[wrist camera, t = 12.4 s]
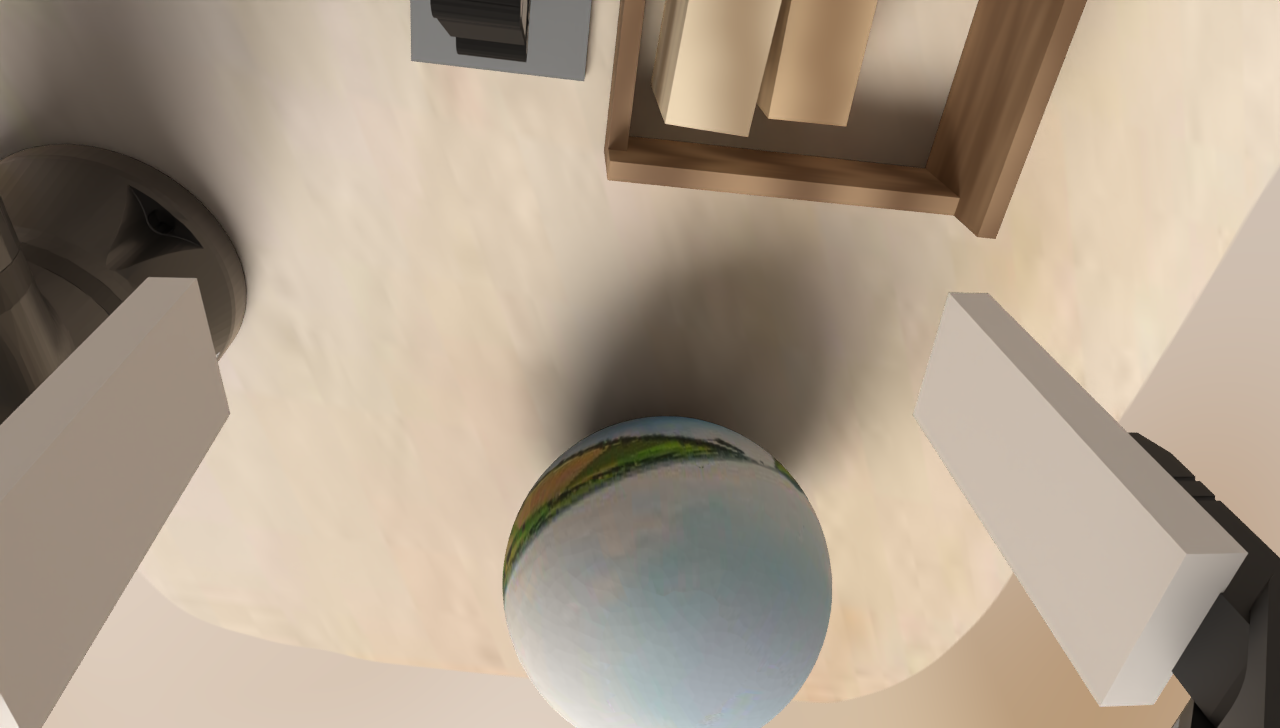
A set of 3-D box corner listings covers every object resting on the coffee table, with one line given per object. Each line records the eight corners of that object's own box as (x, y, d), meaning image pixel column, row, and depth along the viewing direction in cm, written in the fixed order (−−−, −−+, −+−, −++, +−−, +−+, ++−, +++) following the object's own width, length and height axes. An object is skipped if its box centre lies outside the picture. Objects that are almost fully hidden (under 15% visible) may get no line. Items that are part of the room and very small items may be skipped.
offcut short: (745, 89, 45) (768, 118, 40) (783, -120, 40) (814, -117, 34) (815, 97, 45) (846, 126, 40) (861, -109, 40) (903, -105, 35)
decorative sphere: (841, 414, 57) (956, 647, 40) (707, 599, 66) (755, 854, 49) (581, 314, 51) (586, 536, 34) (473, 531, 60) (435, 793, 43)
